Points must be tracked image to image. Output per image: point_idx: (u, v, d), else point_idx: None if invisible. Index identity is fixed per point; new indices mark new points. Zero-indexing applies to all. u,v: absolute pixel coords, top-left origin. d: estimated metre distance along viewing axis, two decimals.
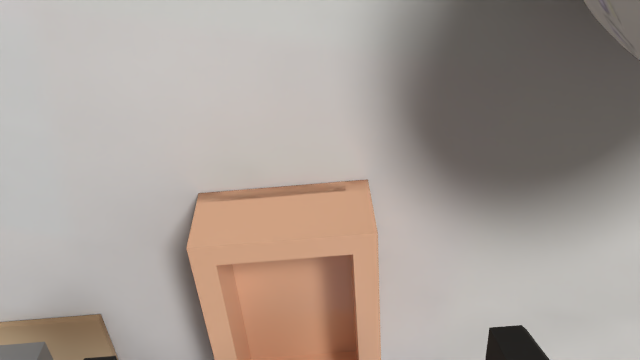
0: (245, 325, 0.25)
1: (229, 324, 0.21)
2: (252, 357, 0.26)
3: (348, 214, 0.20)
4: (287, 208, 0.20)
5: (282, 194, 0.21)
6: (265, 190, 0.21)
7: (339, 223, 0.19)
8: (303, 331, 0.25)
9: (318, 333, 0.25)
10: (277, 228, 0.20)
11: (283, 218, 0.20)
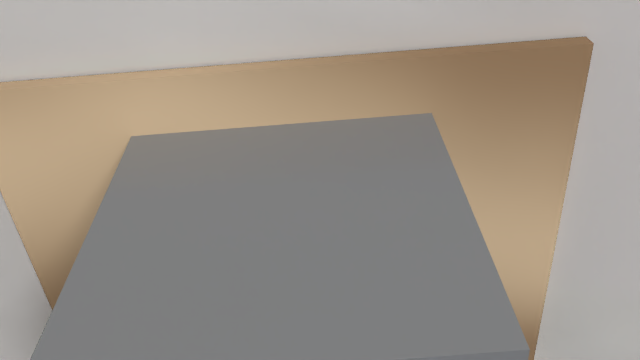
0: None
1: None
2: None
3: None
4: None
5: None
6: None
7: None
8: None
9: None
10: None
11: None
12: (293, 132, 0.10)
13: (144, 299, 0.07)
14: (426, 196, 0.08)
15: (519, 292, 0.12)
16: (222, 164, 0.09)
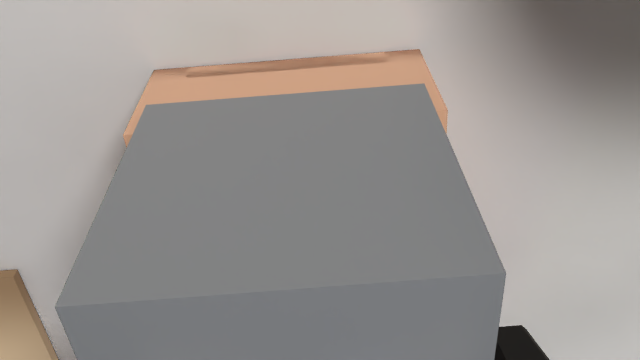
0: None
1: None
2: None
3: None
4: (293, 83, 0.13)
5: (285, 68, 0.13)
6: (259, 65, 0.14)
7: None
8: None
9: None
10: None
11: None
12: (296, 100, 0.11)
13: (163, 237, 0.08)
14: (418, 152, 0.09)
15: None
16: (231, 126, 0.10)
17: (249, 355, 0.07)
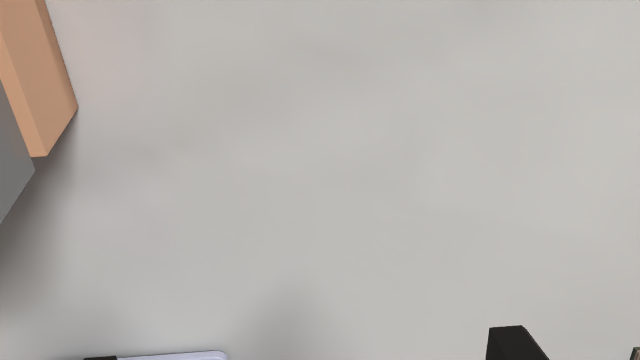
0: None
1: None
2: None
3: None
4: None
5: None
6: None
7: None
8: None
9: None
10: None
11: None
12: None
13: None
14: None
15: None
16: None
17: None
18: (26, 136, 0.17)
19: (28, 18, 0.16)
